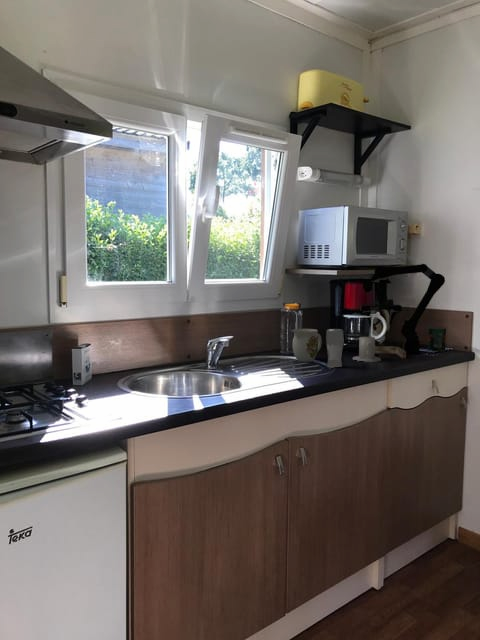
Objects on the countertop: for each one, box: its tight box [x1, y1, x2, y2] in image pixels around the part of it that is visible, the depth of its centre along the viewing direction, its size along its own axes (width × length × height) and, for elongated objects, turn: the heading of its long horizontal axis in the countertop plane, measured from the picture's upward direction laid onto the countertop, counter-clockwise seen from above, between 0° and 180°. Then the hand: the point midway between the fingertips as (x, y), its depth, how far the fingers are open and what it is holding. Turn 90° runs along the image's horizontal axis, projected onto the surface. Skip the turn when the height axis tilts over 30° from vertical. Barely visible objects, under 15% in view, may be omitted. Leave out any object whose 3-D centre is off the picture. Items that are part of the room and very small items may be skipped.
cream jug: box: [358, 336, 376, 360], centre depth 236 cm, size 9×7×9 cm
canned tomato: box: [427, 326, 447, 353], centre depth 262 cm, size 8×8×11 cm
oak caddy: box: [375, 346, 407, 359], centre depth 248 cm, size 15×14×3 cm
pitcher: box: [291, 328, 323, 363], centre depth 236 cm, size 11×18×14 cm, turn 130°
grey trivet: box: [352, 355, 382, 363], centre depth 238 cm, size 12×12×1 cm
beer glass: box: [325, 328, 345, 369], centre depth 222 cm, size 7×7×15 cm
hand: (379, 326), depth 258 cm, fingers open, 9 cm apart
